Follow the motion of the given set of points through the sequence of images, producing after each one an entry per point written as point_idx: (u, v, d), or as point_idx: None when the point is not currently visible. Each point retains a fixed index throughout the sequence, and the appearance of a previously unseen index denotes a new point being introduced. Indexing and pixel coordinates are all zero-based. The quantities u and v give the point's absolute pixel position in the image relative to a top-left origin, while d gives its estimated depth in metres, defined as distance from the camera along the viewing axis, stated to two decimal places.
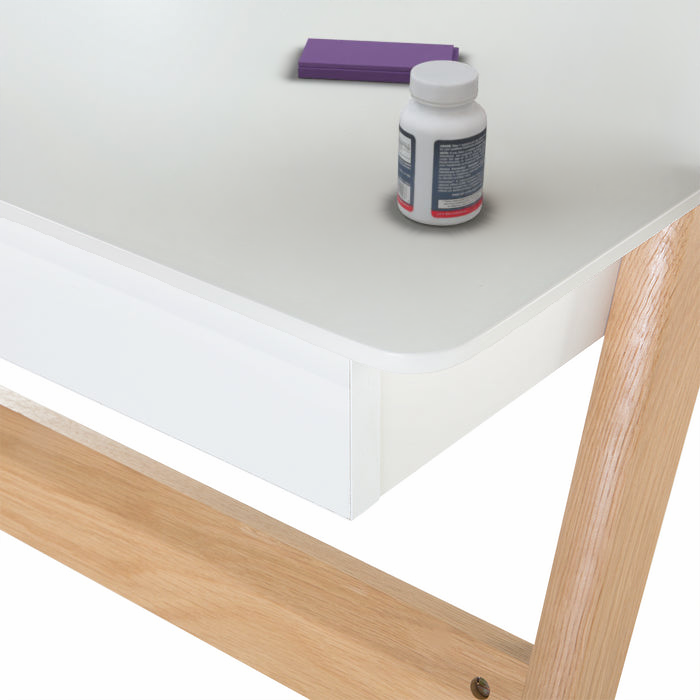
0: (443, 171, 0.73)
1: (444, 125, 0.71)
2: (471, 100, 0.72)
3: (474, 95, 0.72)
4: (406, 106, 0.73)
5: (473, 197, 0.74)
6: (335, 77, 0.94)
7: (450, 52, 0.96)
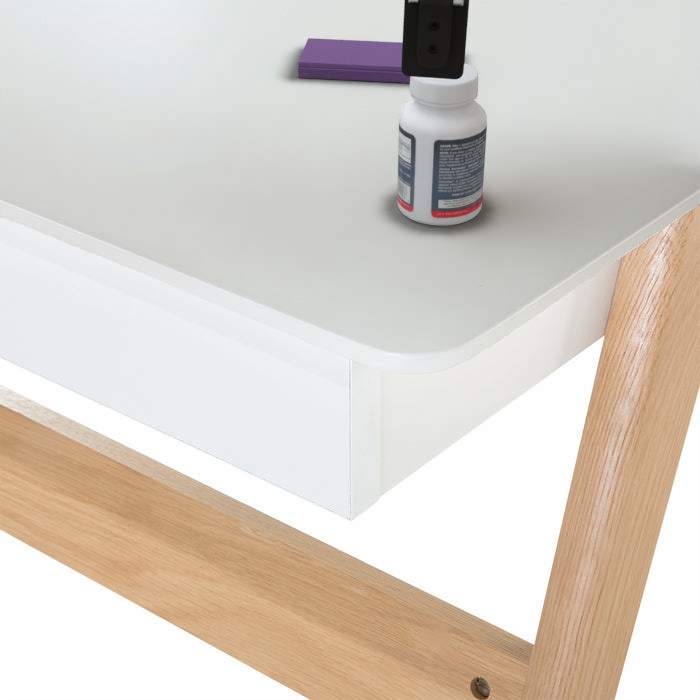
0: (443, 171, 0.73)
1: (444, 125, 0.71)
2: (471, 100, 0.72)
3: (474, 95, 0.72)
4: (406, 106, 0.73)
5: (473, 197, 0.74)
6: (335, 77, 0.94)
7: None
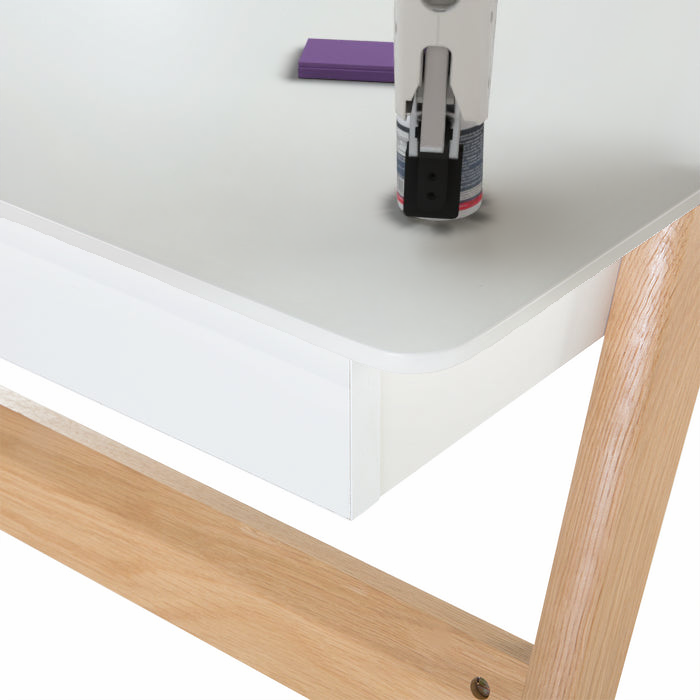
0: None
1: None
2: None
3: None
4: None
5: (473, 191, 0.74)
6: (335, 77, 0.94)
7: None
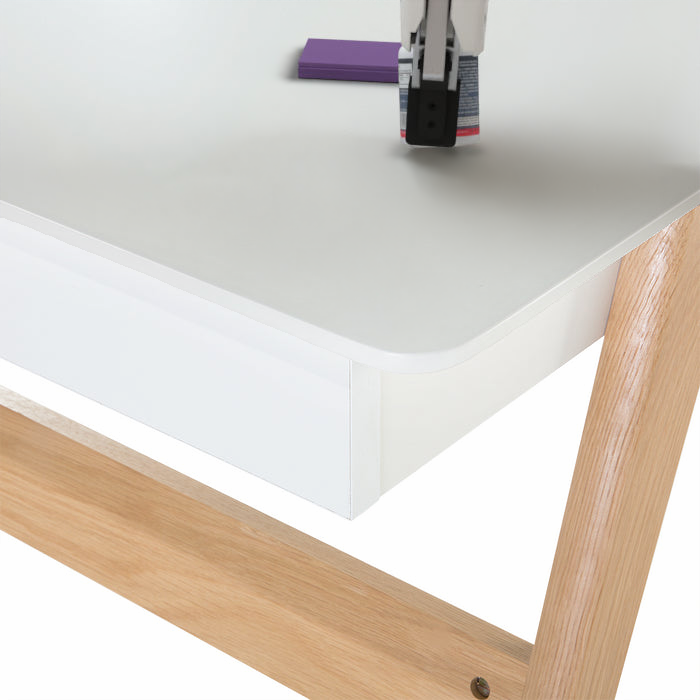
0: None
1: None
2: None
3: None
4: None
5: (472, 120, 0.80)
6: (335, 77, 0.94)
7: None
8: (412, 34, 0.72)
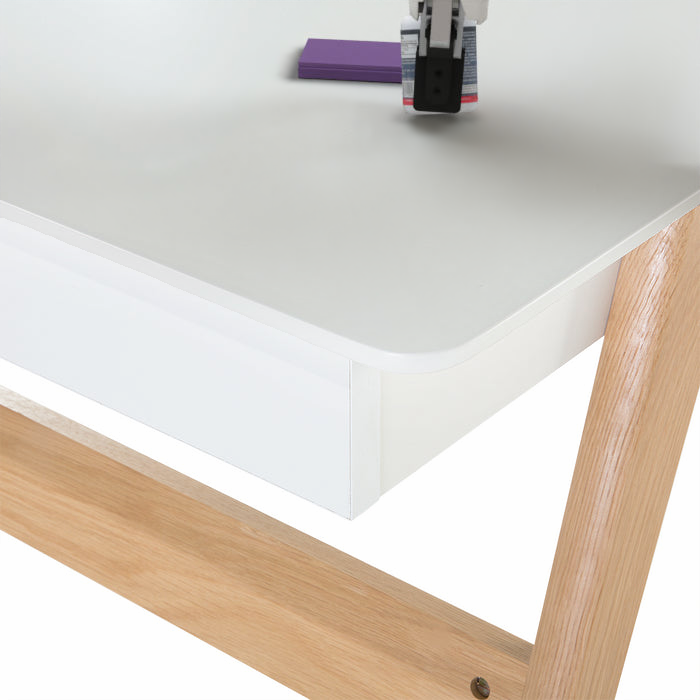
0: None
1: None
2: None
3: None
4: (406, 16, 0.85)
5: (473, 87, 0.85)
6: (335, 77, 0.94)
7: None
8: (419, 4, 0.77)
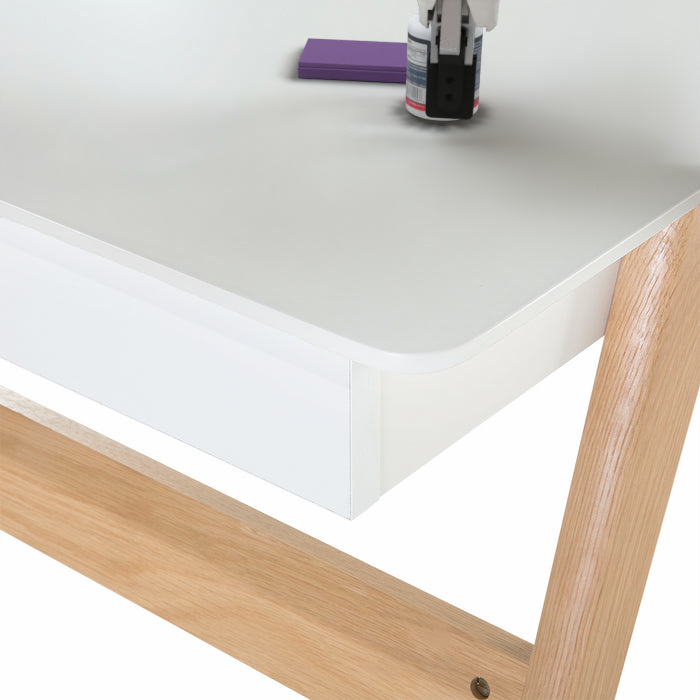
0: None
1: None
2: None
3: None
4: (415, 19, 0.85)
5: (476, 93, 0.87)
6: (335, 77, 0.94)
7: None
8: (430, 12, 0.77)
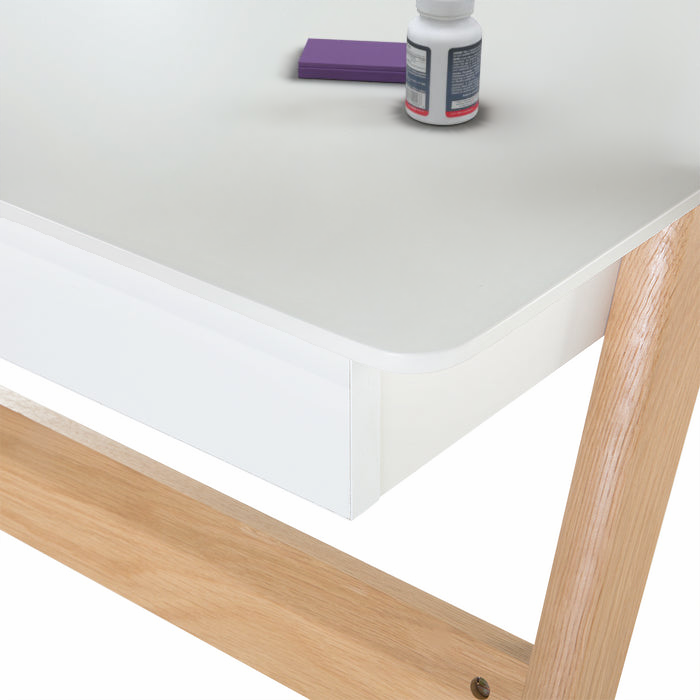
0: (456, 75, 0.85)
1: (455, 34, 0.84)
2: (472, 11, 0.84)
3: (473, 7, 0.84)
4: (414, 24, 0.85)
5: (476, 97, 0.87)
6: (335, 77, 0.94)
7: None
8: None
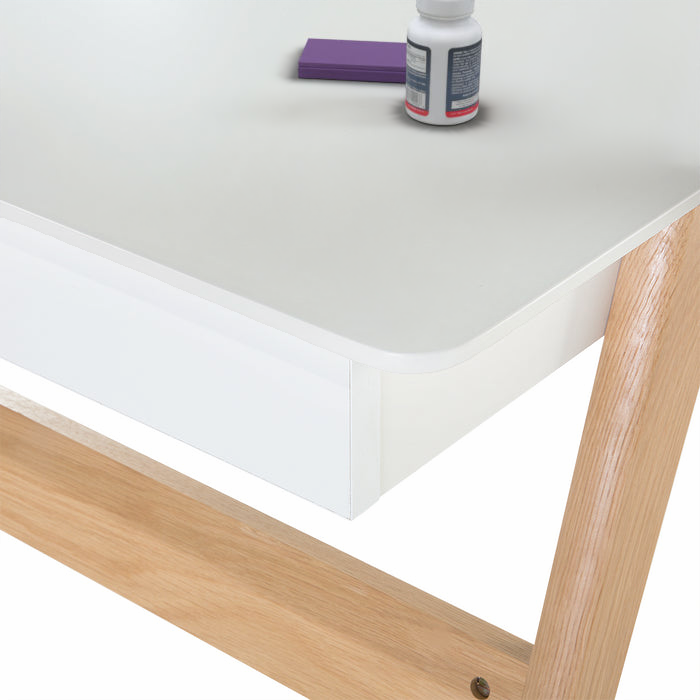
0: (456, 75, 0.85)
1: (455, 34, 0.84)
2: (472, 12, 0.84)
3: (473, 7, 0.84)
4: (414, 24, 0.85)
5: (476, 97, 0.87)
6: (335, 77, 0.94)
7: None
8: None
